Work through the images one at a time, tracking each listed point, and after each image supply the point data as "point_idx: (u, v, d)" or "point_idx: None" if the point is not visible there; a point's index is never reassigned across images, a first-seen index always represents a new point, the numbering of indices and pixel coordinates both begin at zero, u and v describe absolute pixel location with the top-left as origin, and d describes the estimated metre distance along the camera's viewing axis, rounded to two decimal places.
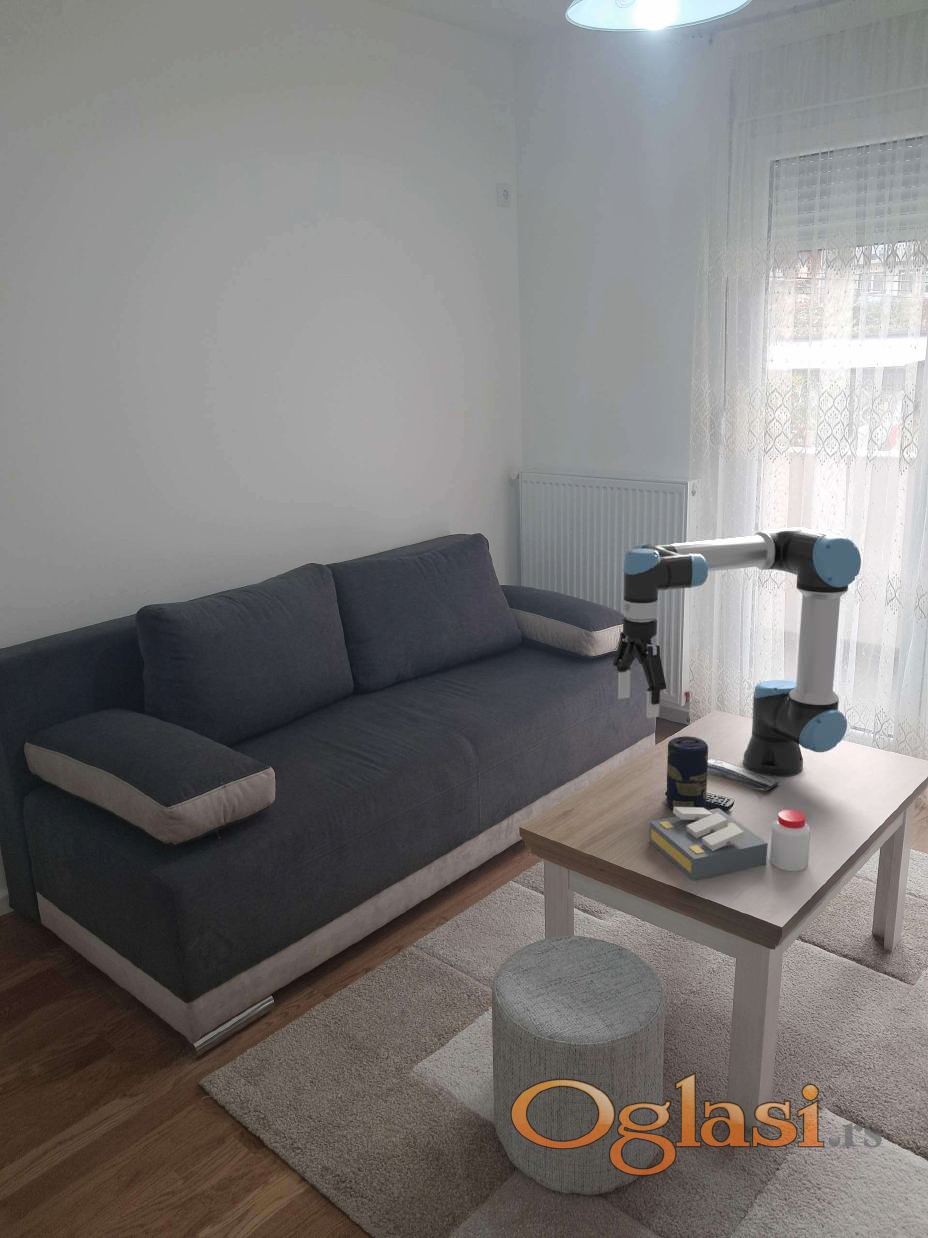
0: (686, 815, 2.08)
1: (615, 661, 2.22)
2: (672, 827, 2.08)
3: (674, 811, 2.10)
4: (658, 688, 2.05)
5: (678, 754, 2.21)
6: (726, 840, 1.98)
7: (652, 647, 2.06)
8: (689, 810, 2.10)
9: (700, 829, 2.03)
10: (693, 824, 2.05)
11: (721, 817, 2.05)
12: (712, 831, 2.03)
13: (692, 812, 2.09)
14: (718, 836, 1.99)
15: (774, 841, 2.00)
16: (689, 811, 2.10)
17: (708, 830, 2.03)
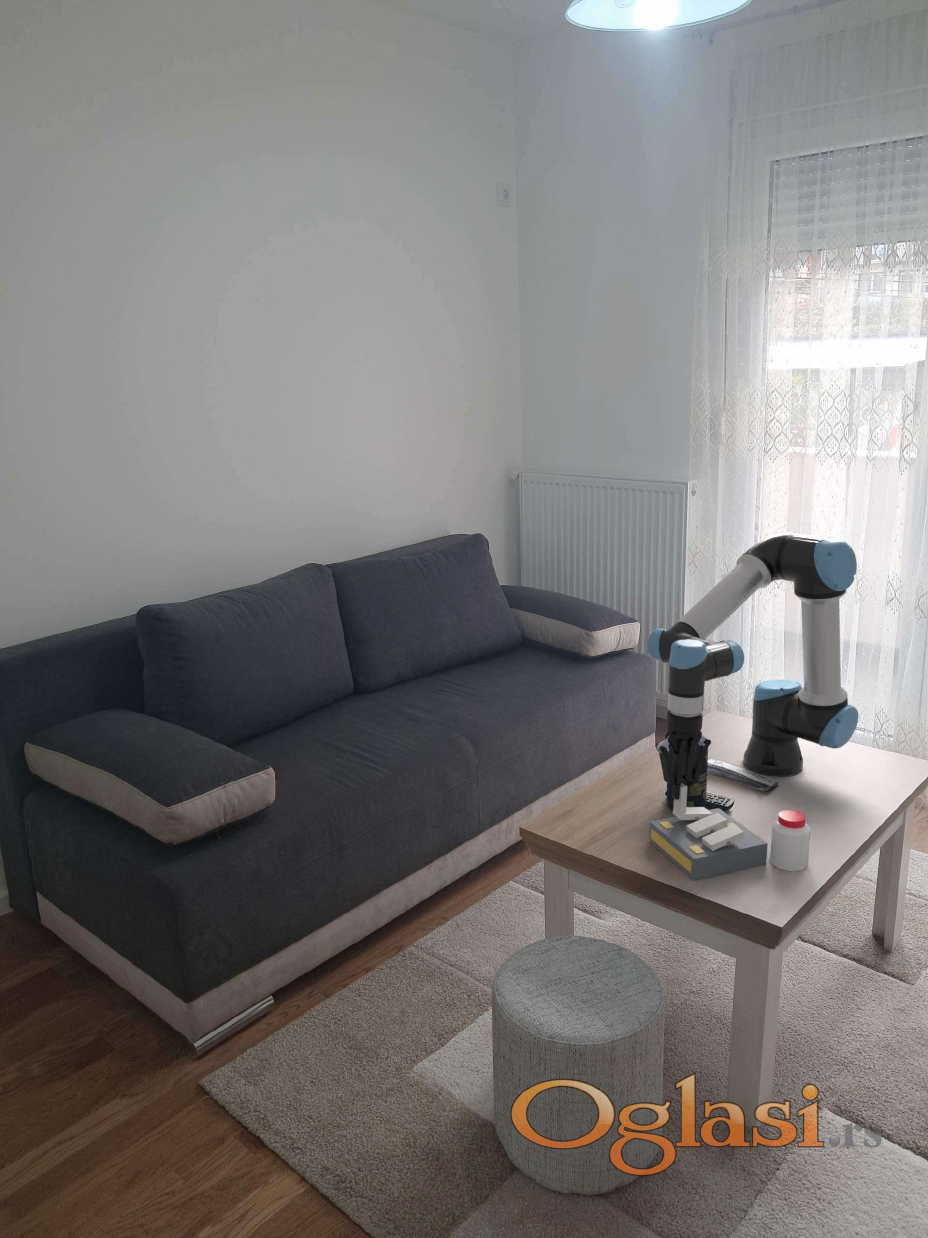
0: (685, 816, 2.08)
1: None
2: (672, 827, 2.08)
3: (674, 812, 2.10)
4: (665, 780, 2.07)
5: None
6: (726, 840, 1.98)
7: (656, 746, 2.04)
8: (689, 810, 2.10)
9: (700, 829, 2.03)
10: (693, 824, 2.05)
11: (721, 817, 2.05)
12: (712, 831, 2.03)
13: (692, 812, 2.09)
14: (718, 836, 1.99)
15: (774, 841, 2.00)
16: (689, 811, 2.10)
17: (708, 830, 2.03)
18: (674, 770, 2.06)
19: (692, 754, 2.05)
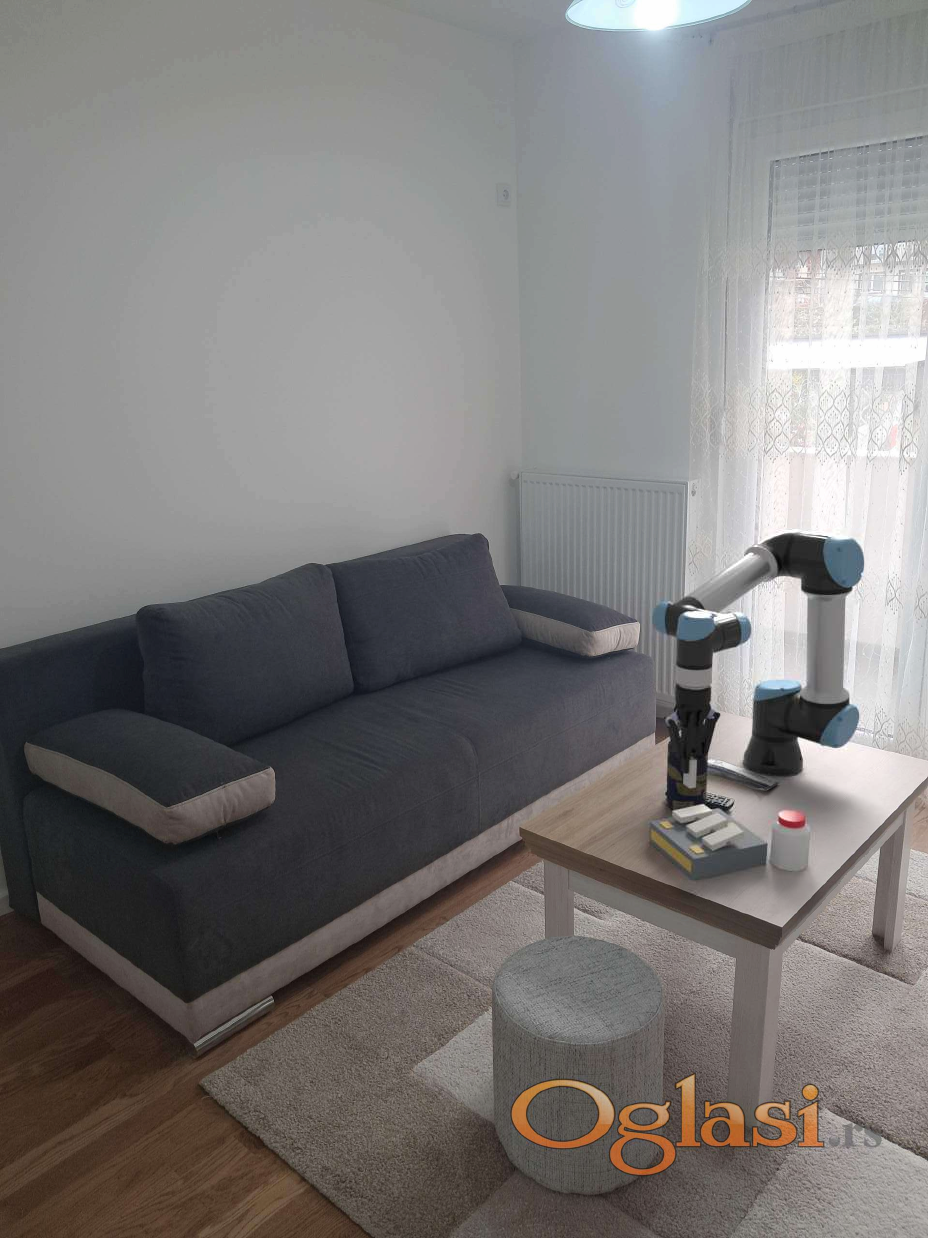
0: (684, 818, 2.08)
1: None
2: (672, 827, 2.08)
3: (673, 815, 2.11)
4: (674, 754, 2.05)
5: None
6: (726, 840, 1.98)
7: (665, 720, 2.02)
8: (688, 811, 2.10)
9: (700, 829, 2.03)
10: (693, 824, 2.05)
11: (721, 817, 2.05)
12: (712, 831, 2.03)
13: (691, 813, 2.09)
14: (718, 836, 1.99)
15: (774, 841, 2.00)
16: (688, 812, 2.10)
17: (708, 830, 2.03)
18: (683, 744, 2.04)
19: (701, 727, 2.03)
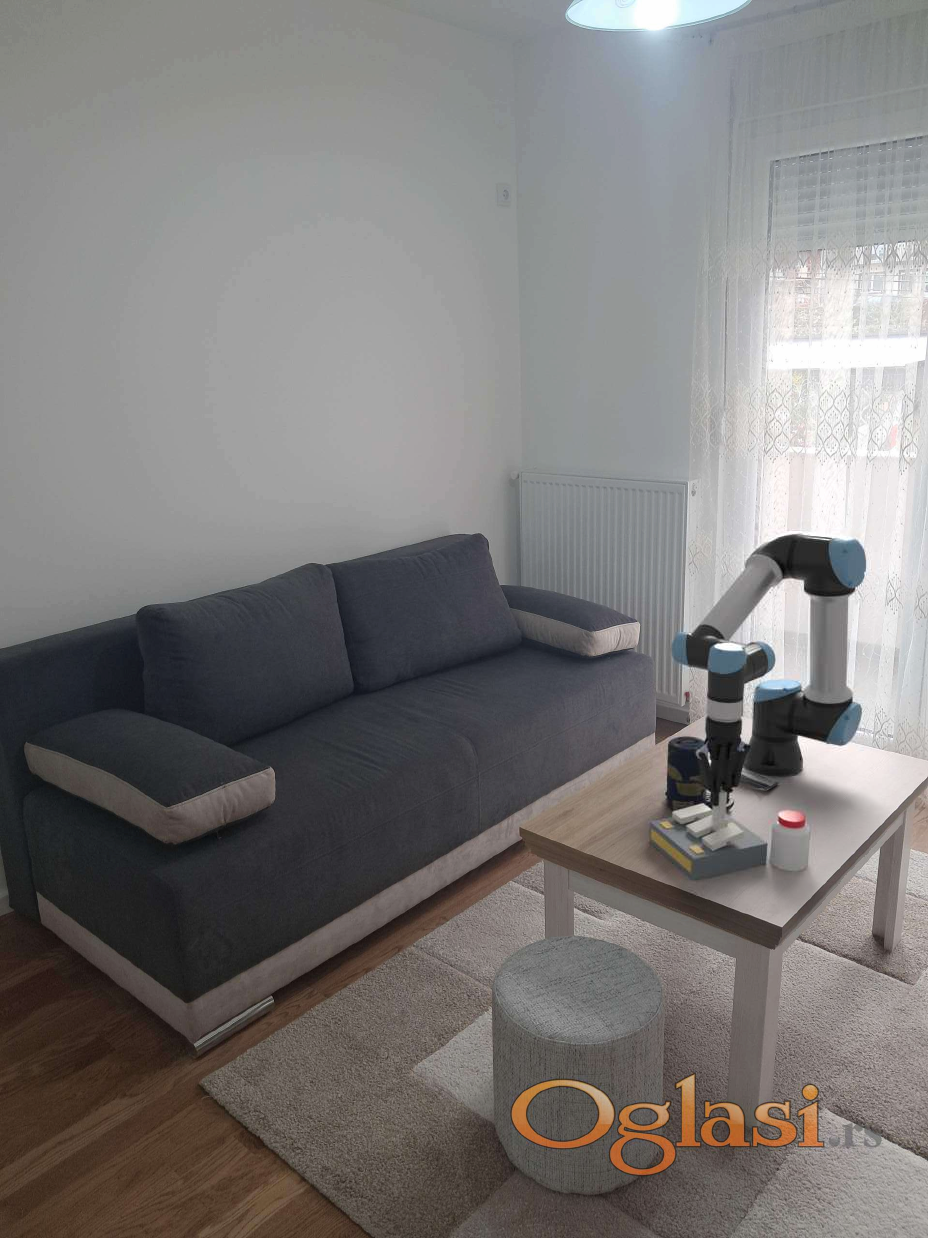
0: (684, 819, 2.08)
1: None
2: (672, 827, 2.08)
3: (673, 816, 2.11)
4: (704, 786, 2.03)
5: (678, 754, 2.21)
6: (726, 840, 1.98)
7: (695, 752, 2.00)
8: (687, 811, 2.10)
9: (700, 829, 2.03)
10: (693, 824, 2.05)
11: None
12: (712, 831, 2.03)
13: (690, 813, 2.09)
14: (718, 836, 1.99)
15: (774, 841, 2.00)
16: (687, 813, 2.10)
17: (708, 830, 2.03)
18: (713, 776, 2.02)
19: (732, 760, 2.01)
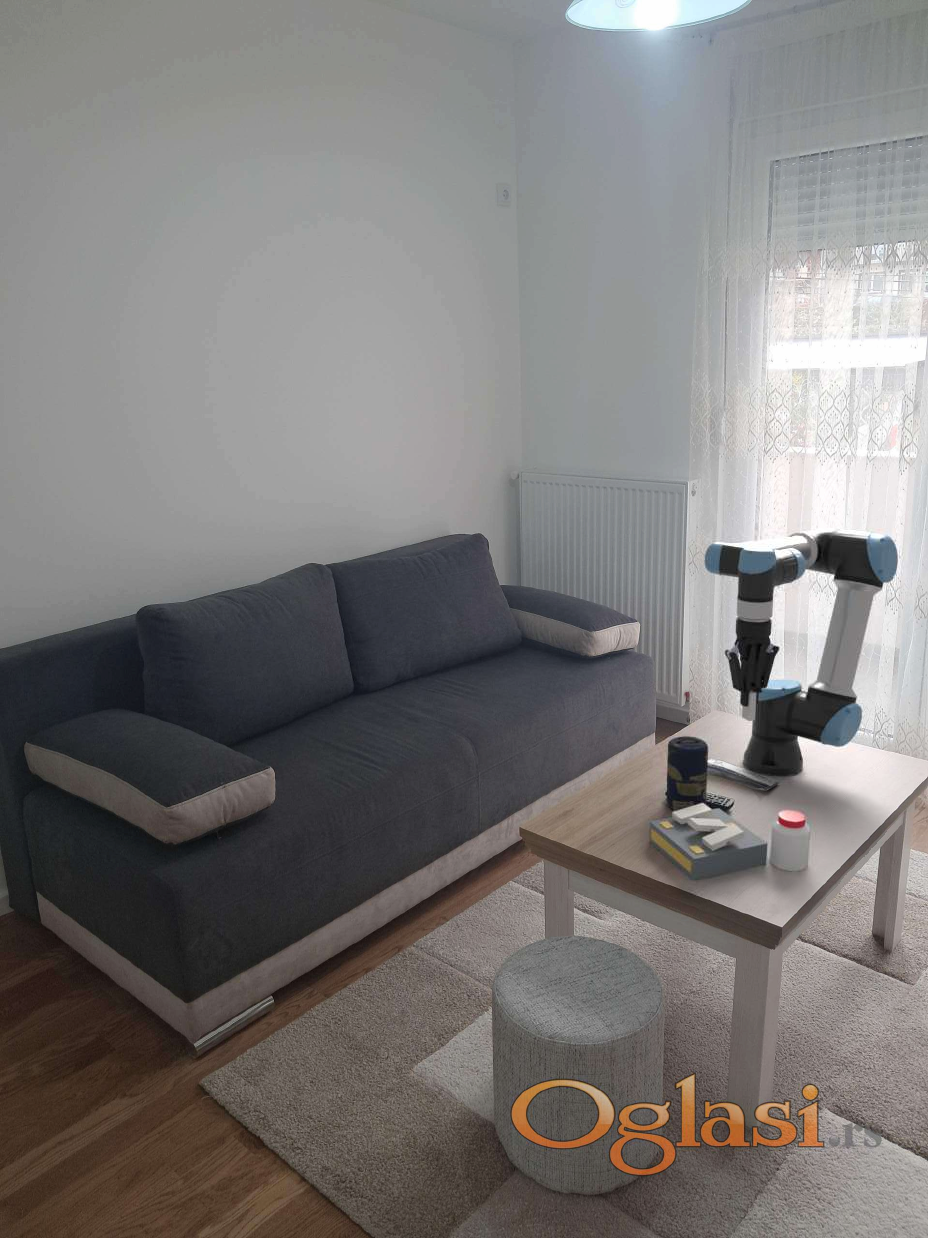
0: (684, 819, 2.08)
1: None
2: (672, 827, 2.08)
3: (673, 816, 2.11)
4: (734, 687, 2.10)
5: (678, 754, 2.21)
6: (726, 840, 1.98)
7: (726, 653, 2.07)
8: (687, 812, 2.10)
9: (702, 824, 2.03)
10: (695, 819, 2.05)
11: (723, 823, 2.06)
12: (712, 831, 2.03)
13: (690, 813, 2.09)
14: (718, 836, 1.99)
15: (774, 841, 2.00)
16: (687, 813, 2.10)
17: (709, 828, 2.03)
18: (743, 677, 2.09)
19: (761, 660, 2.08)
